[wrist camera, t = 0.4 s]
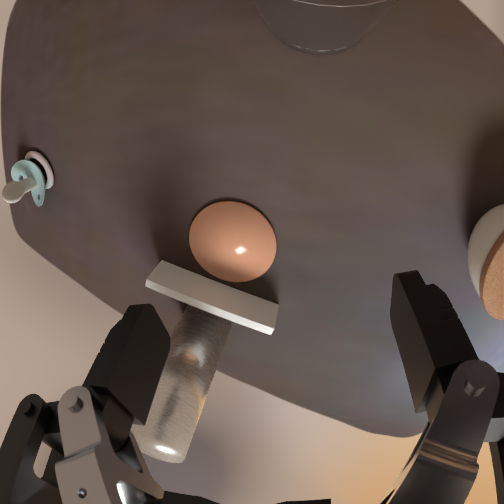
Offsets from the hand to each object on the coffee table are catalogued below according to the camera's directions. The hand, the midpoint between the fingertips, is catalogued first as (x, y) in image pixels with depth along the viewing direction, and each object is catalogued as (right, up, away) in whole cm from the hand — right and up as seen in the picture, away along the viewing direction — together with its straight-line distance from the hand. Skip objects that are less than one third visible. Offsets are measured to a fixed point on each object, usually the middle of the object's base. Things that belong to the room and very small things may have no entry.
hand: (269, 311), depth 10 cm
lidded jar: (+25, +4, +15) cm, 30 cm away
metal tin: (-6, -7, +27) cm, 29 cm away
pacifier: (-28, +12, +22) cm, 37 cm away
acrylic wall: (-4, -2, +24) cm, 25 cm away
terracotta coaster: (-3, +3, +21) cm, 22 cm away
